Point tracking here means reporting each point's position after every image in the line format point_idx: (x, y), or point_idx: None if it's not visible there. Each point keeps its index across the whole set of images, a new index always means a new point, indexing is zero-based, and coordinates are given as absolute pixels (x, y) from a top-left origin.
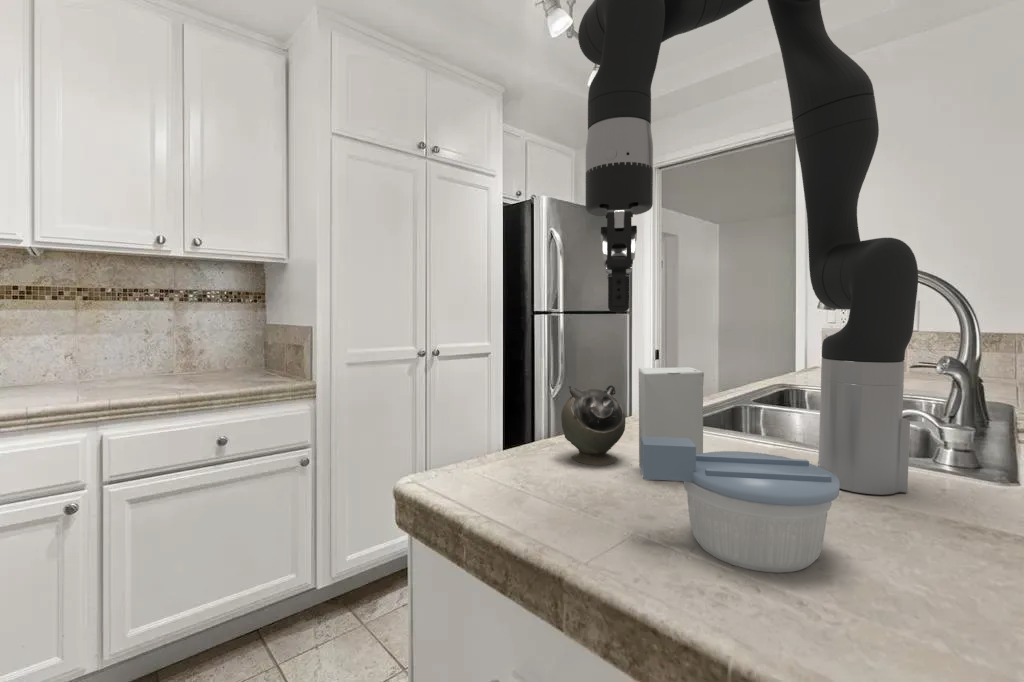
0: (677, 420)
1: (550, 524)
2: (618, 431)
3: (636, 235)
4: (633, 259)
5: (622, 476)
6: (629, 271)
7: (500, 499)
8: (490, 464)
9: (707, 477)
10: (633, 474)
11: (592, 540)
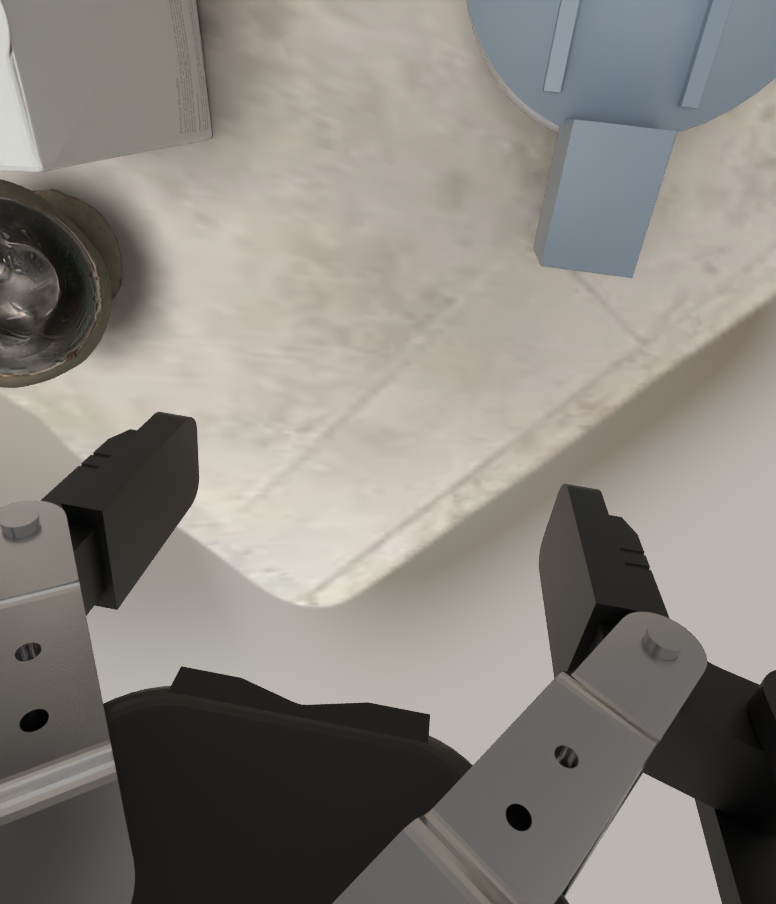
0: (120, 24)
1: (489, 386)
2: (56, 211)
3: (476, 900)
4: (570, 675)
5: (196, 200)
6: (691, 642)
7: (377, 466)
8: None
9: (707, 110)
10: (173, 165)
11: (559, 321)
